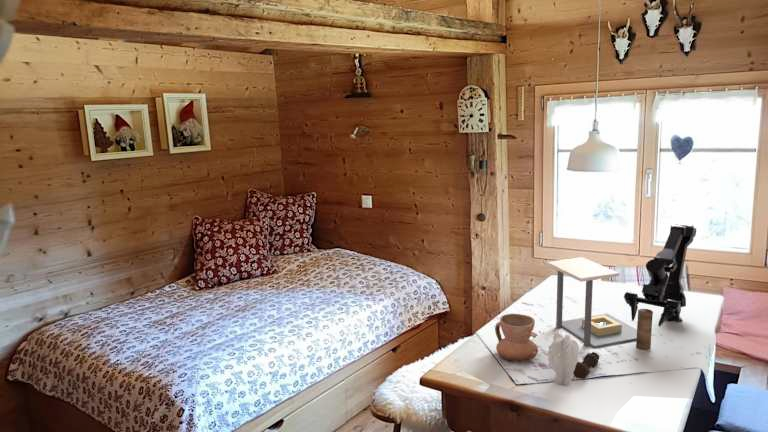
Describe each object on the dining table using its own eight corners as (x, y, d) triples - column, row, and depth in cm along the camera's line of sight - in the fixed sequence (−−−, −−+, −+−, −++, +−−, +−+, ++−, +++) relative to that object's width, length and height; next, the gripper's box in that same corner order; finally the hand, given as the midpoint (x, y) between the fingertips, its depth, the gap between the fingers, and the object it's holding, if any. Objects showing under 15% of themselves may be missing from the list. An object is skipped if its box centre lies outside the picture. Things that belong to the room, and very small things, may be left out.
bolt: (596, 366, 202) (581, 382, 190) (584, 356, 204) (568, 372, 192) (606, 355, 199) (590, 370, 187) (593, 345, 201) (577, 360, 190)
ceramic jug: (549, 358, 205) (549, 320, 202) (522, 370, 196) (522, 331, 194) (509, 343, 219) (509, 307, 216) (483, 354, 210) (482, 317, 208)
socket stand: (607, 315, 240) (610, 252, 235) (648, 337, 218) (653, 268, 212) (543, 326, 232) (545, 261, 226) (580, 350, 210) (582, 279, 204)
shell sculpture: (553, 373, 194) (555, 323, 190) (578, 380, 189) (580, 328, 185) (545, 384, 187) (546, 332, 183) (571, 391, 182) (572, 338, 179)
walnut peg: (634, 344, 213) (636, 308, 210) (648, 344, 212) (650, 308, 209) (637, 350, 208) (640, 313, 206) (652, 350, 208) (654, 313, 205)
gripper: (626, 270, 216) (614, 307, 210) (681, 280, 204) (669, 319, 198) (633, 285, 223) (621, 321, 217) (685, 295, 211) (674, 333, 205)
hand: (645, 323), depth 209 cm, fingers open, 9 cm apart
